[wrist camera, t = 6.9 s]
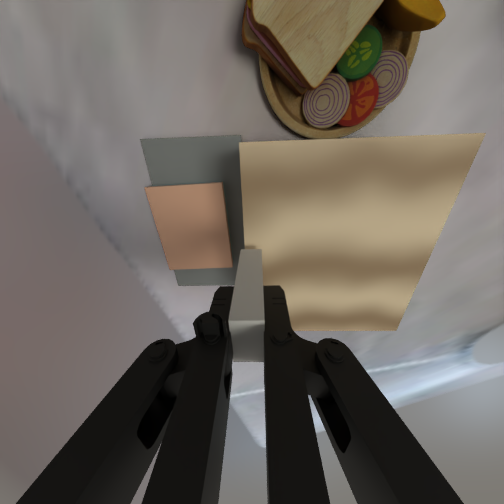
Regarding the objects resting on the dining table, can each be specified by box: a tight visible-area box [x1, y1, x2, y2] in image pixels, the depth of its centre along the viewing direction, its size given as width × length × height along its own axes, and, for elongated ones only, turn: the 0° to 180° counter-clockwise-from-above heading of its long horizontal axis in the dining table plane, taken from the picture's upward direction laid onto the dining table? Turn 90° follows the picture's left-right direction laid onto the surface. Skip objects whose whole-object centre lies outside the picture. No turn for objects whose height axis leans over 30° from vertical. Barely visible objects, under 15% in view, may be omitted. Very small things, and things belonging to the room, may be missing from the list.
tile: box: [145, 181, 234, 270], centre depth 22 cm, size 10×8×2 cm
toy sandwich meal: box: [242, 0, 446, 139], centre depth 14 cm, size 12×14×5 cm
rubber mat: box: [140, 135, 245, 286], centre depth 23 cm, size 18×10×1 cm, turn 2°
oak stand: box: [239, 133, 486, 331], centre depth 19 cm, size 16×14×9 cm
